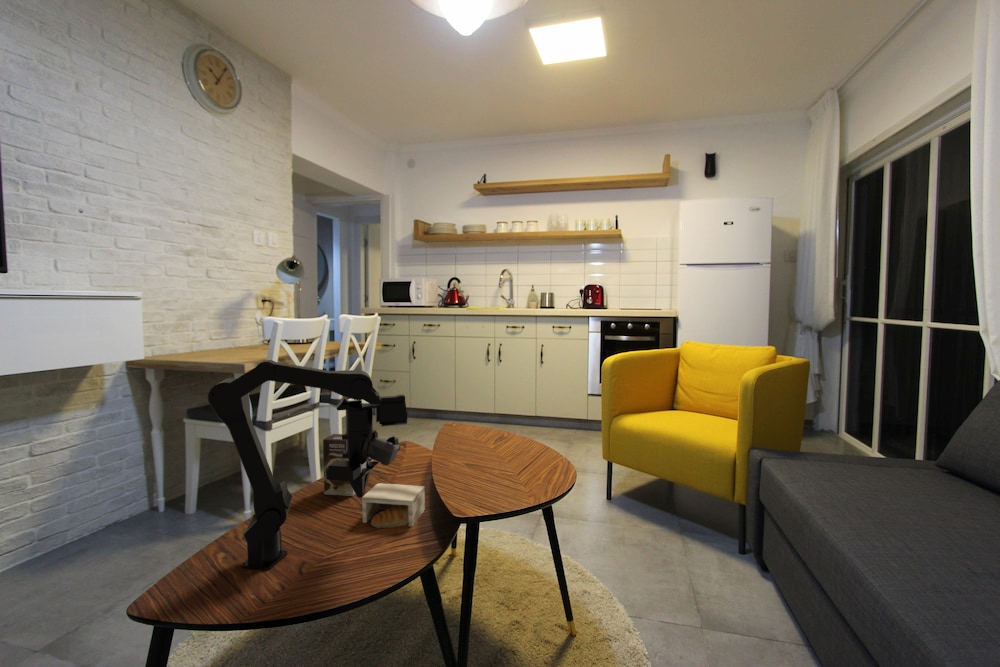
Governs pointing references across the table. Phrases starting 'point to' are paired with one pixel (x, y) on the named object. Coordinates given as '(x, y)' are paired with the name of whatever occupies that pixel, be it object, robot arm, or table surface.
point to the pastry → (391, 517)
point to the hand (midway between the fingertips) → (360, 496)
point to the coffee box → (331, 454)
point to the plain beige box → (394, 500)
